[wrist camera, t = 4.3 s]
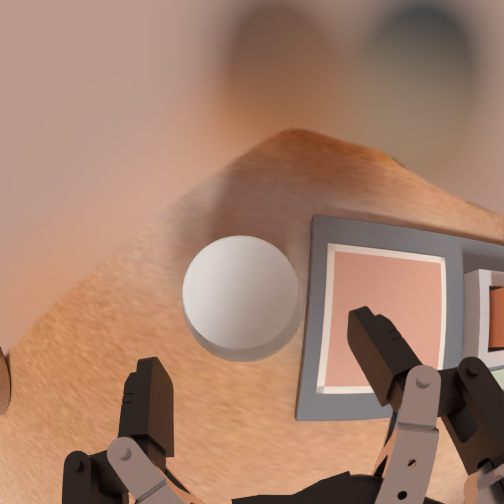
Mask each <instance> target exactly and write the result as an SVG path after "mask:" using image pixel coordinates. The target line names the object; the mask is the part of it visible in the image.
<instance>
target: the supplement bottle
mask: <svg viewBox="0 0 504 504" xmlns="http://www.w3.org/2000/svg"><path fill="white" fill-rule="evenodd" d="M182 308H183V314H184V318H185V321H186V324H187V326H188V328H189V330H190V332H191V334H192V335H193V337H194V338H195V339H196V341H197V342H198V343H199V344H200V345H201V346H202V347H204V348H205V349H206V350H207V351H209V352H210V353H212V354H214V355H216V356H218V357H220V358H222V359H225V360H229V361H234V362H253V361H258V360H262V359H264V358H267V357H269V356H271V355H273V354H275V353H276V352H278V351H279V350H281V349H282V348H283V347H284V346H285V345H286V344H287V343H288V342H289V341H290V340H291V339H292V337H293V336H294V334H295V333H296V331H297V329H298V327H299V325H300V322H301V319H302V316H303V309H304V295H303V289H302V285H301V282H300V279H299V277H298V275H297V273H296V271H295V270H294V268H293V267H292V265H291V263H290V262H289V260H288V259H287V258H286V256H285V255H284V254H283V253H282V252H281V251H280V250H279V249H278V248H276V247H275V246H273V245H272V244H270V243H269V242H267V241H265V240H262V239H259V238H257V237H252V236H244V235H237V236H229V237H225V238H221V239H218V240H216V241H214V242H212V243H210V244H209V245H207V246H206V247H205V248H203V249H202V250H201V251H200V252H199V253H198V254H197V255H196V256H195V258H194V259H193V260H192V262H191V263H190V265H189V267H188V269H187V271H186V274H185V277H184V281H183V288H182Z"/></svg>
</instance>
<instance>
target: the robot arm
mask: <svg viewBox="0 0 504 504" xmlns="http://www.w3.org/2000/svg"><path fill="white" fill-rule="evenodd" d="M347 340H348V344H349V347H350V349H351V351H352V353H353V355H354V356H355V358H356V360H357V362H358V364H359V366H360V367H361V369H362V371H363V373H364V375H365V377H366V378H367V380H368V382H369V384H370V386H371V388H372V390H373V391H374V393H375V395H376V397H377V399H378V401H379V403H380V405H381V407H383V406H386V405H388V404H390V405H391V407H392V409H393V410H392V413H391V417H390V421H389V425H388V429H387V432H386V436H385V439H384V443H383V446H382V449H381V452H380V454H379V456H378V459H377V461H376V464H375V467H374V469H373V472H372V475H364V474H356V475H350V472H349V471H347V472H344V473H341V474H338V475H335V476H332V477H329V478H326V479H323V480H320V481H318V482H317V483H315V484H313V485H311V486H309V487H307V488H305V489H303V490H302V491H300V492H298V493H296V494H293V495H256V496H250V497H244V498H237V499H231V500H232V504H444V503H441V502H439V501H436V500H433V499H430V498H428V497H425V495H426V491H427V488H428V484H429V480H430V476H431V472H432V468H433V464H434V459H435V455H436V450H437V444H438V439H439V430H438V429H436V421H437V417H441V419H442V421H443V423H444V425H445V427H446V429H447V431H448V433H449V435H450V437H451V439H452V441H453V443H454V445H455V447H456V449H457V451H458V453H459V456H460V458H461V460H462V462H463V464H464V467H465V469H466V471H467V473H468V476H469V477H468V478H467V480H466V482H465V485H464V495H465V502H464V504H504V391H503V390H502V388H501V387H500V385H499V384H498V382H497V381H496V379H495V378H494V376H493V375H492V373H491V372H490V370H489V369H488V367H487V366H486V365H485V363H484V362H483V361H482V360H481V359H479V358H477V357H466V358H464V359H463V360H462V361H461V362H460V363H459V365H458V367H455V368H449V369H444V370H436V369H434V368H433V367H431V366H428V365H423V364H422V363H421V361H420V360H419V359H418V357H417V356H416V354H415V353H414V352H413V350H412V349H411V347H410V346H409V345H408V343H407V342H406V340H405V339H404V338H402V335H401V334H400V332H399V331H398V330H397V328H396V327H395V326H394V324H393V323H392V322H391V320H390V319H388V318H386V317H385V316H383V315H382V314H378V315H375V316H374V314H373V313H372V311H371V310H370V309H369V307H367V306H363V307H360V308H357V309H354V310H351V311H349V313H348V328H347ZM123 394H124V396H123V399H122V403H123V404H122V407H121V415H120V423H119V432H118V437H117V439H115V440H114V441H112V442H111V444H110V445H109V447H108V449H107V450H105V451H102V452H99V453H96V454H93V455H87V454H86V453H84V452H82V451H74V452H71V453H70V454H69V455H68V456H67V457H66V459H65V462H64V471H63V487H62V504H129V496H128V492H130V493H131V494H132V495H133V497H134V498H135V500H136V502H135V504H205V503H204V502H203V501H202V500H200V499H199V498H198V497H196V496H195V495H194V494H193V493H192V492H191V491H190V490H189V489H188V488H187V487H186V486H185V485H184V484H183V483H182V482H181V481H180V480H179V479H178V478H177V477H176V476H175V475H174V474H173V473H172V471H171V470H170V469H169V468H168V467H167V466H166V457H174V423H173V394H174V391H173V384H172V381H171V378H170V377H169V375H168V373H167V372H166V370H165V369H164V367H163V366H162V364H161V362H160V361H159V359H158V358H157V357H150V358H144V359H139V360H138V363H137V370H136V372H134V373H130V375H129V377H128V378H127V380H126V382H125V385H124V392H123ZM9 399H10V380H9V374H8V368H7V364H6V361H5V357H4V355H3V352H2V349H1V347H0V415H2V414H3V413H4V412H5V411H6V409H7V407H8V405H9Z"/></svg>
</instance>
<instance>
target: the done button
mask: <svg viewBox="0 0 504 504" xmlns="http://www.w3.org/2000/svg"><path fill="white" fill-rule="evenodd" d="M488 347H504V287H503V288H500V289H496V290H492V291H489V341H488Z"/></svg>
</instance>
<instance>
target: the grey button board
mask: <svg viewBox="0 0 504 504" xmlns="http://www.w3.org/2000/svg"><path fill="white" fill-rule="evenodd" d="M503 287H504V246H502V245H497V244H493V243H488V242H483V241H478V240H473V239H468V238H462V237H457V236H452V235H446V234H441V233H435V232H430V231H424V230H418V229H412V228H406V227H399V226H393V225H386V224H380V223H373V222H366V221H359V220H352V219H345V218H337V217H329V216H321V215H314V216H313V218H312V237H311V257H310V274H309V289H308V302H307V314H306V325H305V336H304V346H303V355H302V364H301V373H300V381H299V389H298V397H297V404H296V411H295V419H296V421H349V420H366V419H379V418H389V417H391V413H392V410H393V409H392V407H391V405H390V404H388V405H386V406H383V407H381V405H380V403H379V401H378V399H377V397H376V395H375V393H374V391H373V390H372V388H371V386H370V384H369V382H368V380H367V378H366V377H365V375H364V373H363V371H362V369H361V367H360V366H359V364H358V362H357V360H356V358H355V356H354V355H353V353H352V351H351V349H350V347H349V344H348V340H347V328H348V313H349V311H351V310H354V309H357V308H360V307H363V306H367V307H369V309H370V310H371V311H372V313H373V314H374V316H375V315H378V314H382V315H383V316H385V317H386V318H388V319H390V320H391V322H392V323H393V324H394V326H395V327H396V328H397V330H398V331H399V332H400V334H401V335H402V338H404V339H405V340H406V342H407V343H408V345H409V346H410V347H411V349H412V350H413V352H414V353H415V354H416V356H417V357H418V359H419V360H420V361H421V363H422V364H423V365H428V366H431V367H433V368H434V369H436V370H444V369H449V368H455V367H458V365H459V363H460V362H461V361H462V360H463V359H464V358H466V357H477V358H479V359H481V360H482V361H483V362H484V363H485V365H486V366H487V367H488V369H489V370H490V372H491V373H492V375H493V376H494V378H495V379H496V381H497V382H498V384H499V385H500V387H501V388H502V390H503V391H504V347H488V341H489V291H492V290H496V289H500V288H503Z"/></svg>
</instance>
